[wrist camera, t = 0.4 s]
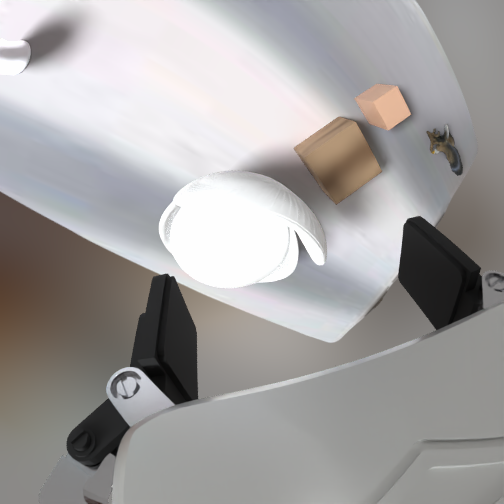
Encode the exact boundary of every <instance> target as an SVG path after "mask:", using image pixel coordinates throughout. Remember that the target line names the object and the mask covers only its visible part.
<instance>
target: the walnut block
mask: <svg viewBox="0 0 504 504" xmlns="http://www.w3.org/2000/svg"><path fill="white" fill-rule="evenodd" d="M294 150H295V151H296V153H297V154H298V155H299V157H300V158H301V160H302V161H303V163H304V164H305V165H306V167H307V168H308V170H309V171H310V173H311V174H312V176H313V177H314V178H315V180H316V181H317V183H318V184H319V186H320V187H321V189H322V190H323V192H324V193H325V194H326V195H327V196H328V197H329V198H330V199H331V200H332V201H333V202H334V203H335V204H336V205H337V204H338V203H339V202H341V201H342V200H344V199H345V198H346V197H348V196H349V195H351V194H352V193H353V192H355V191H356V190H357V189H359V188H360V187H362V186H363V185H364V184H366V183H367V182H368V181H370V180H371V179H373V178H374V177H375V176H377V175H378V174H379V173H381V172H382V170H381V168H380V166H379V164H378V162H377V160H376V158H375V156H374V154H373V153H372V151H371V149H370V147H369V145H368V143H367V141H366V139H365V138H364V136H363V134H362V132H361V130H360V129H359V127H358V125H357V123H356V122H354V121H351V120H348V119H345V118H342V117H338V118H336V119H335V120H333V121H332V122H330V123H329V124H327V125H326V126H324V127H323V128H322V129H320V130H319V131H317V132H316V133H314V134H313V135H311V136H310V137H309V138H307V139H306V140H304V141H303V142H302V143H300V144H299V145H297V146H296V147H295V148H294Z"/></svg>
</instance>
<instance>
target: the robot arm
mask: <svg viewBox="0 0 504 504" xmlns="http://www.w3.org/2000/svg"><path fill="white" fill-rule="evenodd" d="M480 269H481V268H480V267H479V266H478V265H477V264H476V263H475V262H474V261H473V260H472V259H470V258H469V257H468V256H467V255H466V254H465V253H464V252H462V251H461V250H460V249H459V248H458V247H457V246H456V245H455V244H453V243H452V242H451V241H450V240H449V239H448V238H447V237H446V236H444V235H443V234H442V233H441V232H440V231H438V230H437V229H436V228H435V227H433V226H432V225H431V224H430V223H429V222H427V221H426V220H425V219H424V218H422V217H421V216H417V217H413V218H409V219H407V221H406V223H405V224H404V227H403V239H402V248H401V257H400V265H399V273H398V278H399V281H400V283H401V284H402V285H403V287H404V288H405V289H406V290H407V292H408V293H409V294H410V296H411V297H412V298H413V299H414V301H415V302H416V303H417V305H418V306H419V307H420V309H421V310H422V311H423V313H424V314H425V315H426V317H427V318H428V319H429V320H430V322H431V323H432V325H433V326H434V327H435V329H436V331H434V332H431V333H429V334H427V335H424V336H422V337H419V338H417V339H414V340H412V341H409V342H407V343H404V344H401V345H399V346H396V347H393V348H391V349H388V350H385V351H382V352H380V353H377V354H374V355H371V356H368V357H365V358H362V359H359V360H356V361H353V362H350V363H347V364H344V365H340V366H337V367H334V368H330V369H327V370H324V371H320V372H316V373H313V374H310V375H306V376H302V377H298V378H295V379H290V380H286V381H282V382H279V383H274V384H270V385H265V386H260V387H256V388H252V389H247V390H242V391H237V392H232V393H228V394H222V395H217V396H212V397H207V398H203V399H198V382H197V332H196V327H195V325H194V322H193V320H192V318H191V316H190V313H189V311H188V309H187V306H186V304H185V301H184V299H183V297H182V294H181V292H180V289H179V287H178V284H177V282H176V279H175V277H174V276H172V277H170V276H169V275H168V274H163V275H159V276H155V277H153V279H152V284H151V288H150V293H149V298H148V303H147V308H146V313H143V314H141V315H140V317H139V321H138V327H137V331H136V336H135V342H134V347H133V353H132V358H131V364H130V367H126V368H123V369H121V370H119V371H117V372H116V373H115V374H114V375H113V376H112V377H111V378H110V380H109V381H108V383H107V387H106V392H107V395H108V399H107V400H106V401H105V402H104V403H103V404H101V405H100V406H99V407H98V408H97V409H96V410H95V411H94V412H93V413H91V414H90V415H89V416H88V417H87V418H86V419H85V420H83V421H82V422H81V423H80V424H79V425H78V426H77V427H76V428H75V429H73V430H72V432H71V433H70V434H69V437H68V439H67V451H68V454H67V455H66V457H65V456H61V458H60V460H59V461H58V463H57V464H56V466H55V467H54V469H53V471H52V472H51V474H50V475H49V477H48V479H47V480H46V482H45V483H44V485H43V487H42V488H41V490H40V493H39V503H40V504H108V499H109V496H110V494H111V492H112V504H504V274H503V273H500V272H498V271H493V270H492V271H487V272H485V273H484V274H483V275H482V276H481V275H480V274H479V273H480ZM112 484H113V488H112V487H111V486H112ZM112 490H113V491H112Z"/></svg>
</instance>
